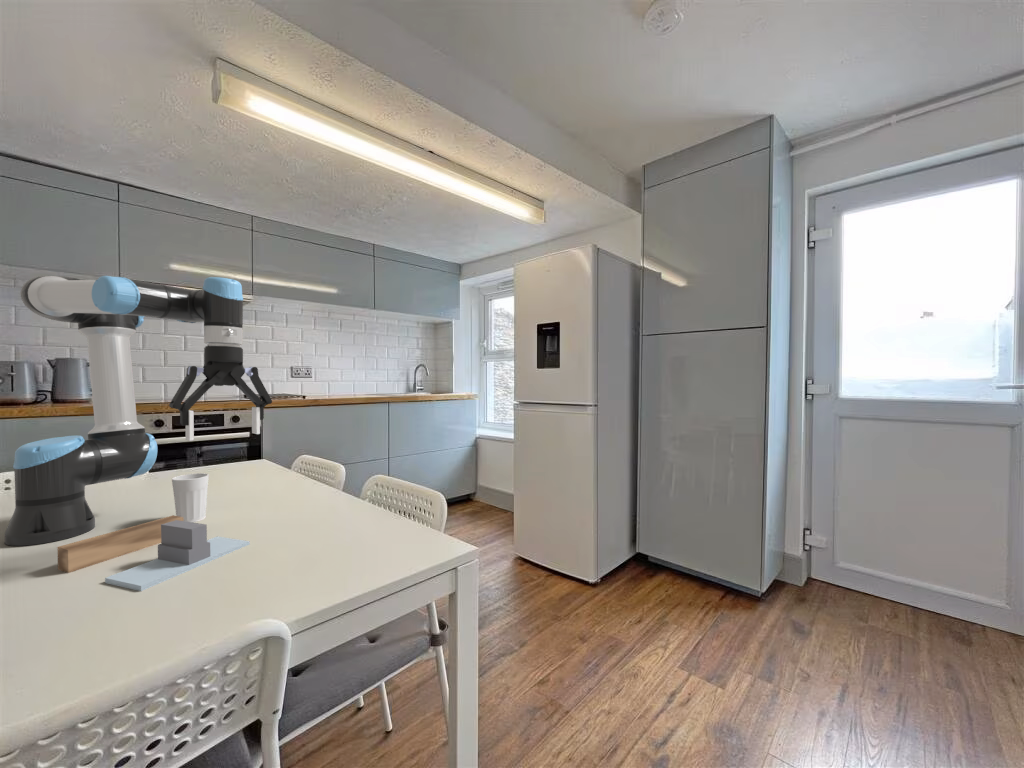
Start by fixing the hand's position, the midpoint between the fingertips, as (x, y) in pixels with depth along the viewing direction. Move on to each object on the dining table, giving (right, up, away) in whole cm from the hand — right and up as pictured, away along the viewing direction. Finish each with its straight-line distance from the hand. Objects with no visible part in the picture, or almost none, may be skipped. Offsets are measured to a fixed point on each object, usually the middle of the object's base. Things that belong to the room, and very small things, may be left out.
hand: (224, 436), depth 101 cm
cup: (-19, -25, +15) cm, 34 cm away
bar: (-18, -25, -5) cm, 31 cm away
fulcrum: (-1, -25, -11) cm, 27 cm away
